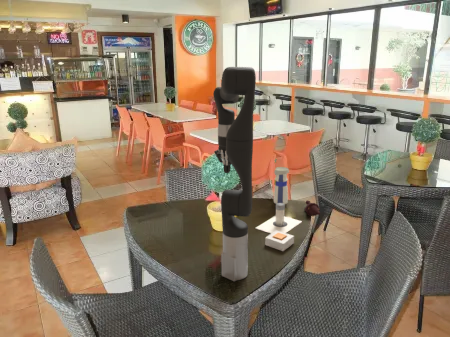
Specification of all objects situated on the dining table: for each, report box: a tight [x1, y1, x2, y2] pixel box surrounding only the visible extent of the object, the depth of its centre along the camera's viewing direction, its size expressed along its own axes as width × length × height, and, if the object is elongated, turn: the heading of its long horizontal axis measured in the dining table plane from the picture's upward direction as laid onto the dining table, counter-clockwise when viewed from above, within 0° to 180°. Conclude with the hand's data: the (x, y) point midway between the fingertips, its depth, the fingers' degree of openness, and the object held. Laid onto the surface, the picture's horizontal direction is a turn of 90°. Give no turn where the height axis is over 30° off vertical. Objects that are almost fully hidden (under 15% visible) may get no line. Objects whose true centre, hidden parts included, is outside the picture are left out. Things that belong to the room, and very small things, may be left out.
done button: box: [273, 233, 287, 241], centre depth 162 cm, size 4×4×2 cm
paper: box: [255, 215, 303, 235], centre depth 181 cm, size 20×14×1 cm
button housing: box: [264, 230, 295, 252], centre depth 162 cm, size 9×9×4 cm
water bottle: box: [273, 157, 290, 205], centre depth 206 cm, size 8×9×25 cm
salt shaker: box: [275, 203, 286, 226], centre depth 180 cm, size 4×4×10 cm
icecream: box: [303, 200, 321, 217], centre depth 191 cm, size 7×7×15 cm
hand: (227, 172), depth 166 cm, fingers closed
